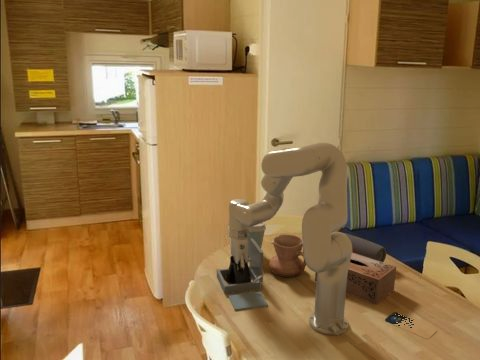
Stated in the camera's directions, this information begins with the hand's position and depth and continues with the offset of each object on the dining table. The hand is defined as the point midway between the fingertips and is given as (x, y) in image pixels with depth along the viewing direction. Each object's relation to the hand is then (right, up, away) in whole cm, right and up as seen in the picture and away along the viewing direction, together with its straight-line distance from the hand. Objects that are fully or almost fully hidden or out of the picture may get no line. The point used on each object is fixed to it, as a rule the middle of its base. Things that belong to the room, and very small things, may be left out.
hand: (238, 276), depth 174 cm
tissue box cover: (+44, -4, 0) cm, 45 cm away
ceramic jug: (+20, -1, +10) cm, 23 cm away
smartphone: (+57, -11, -26) cm, 63 cm away
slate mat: (+3, -6, -12) cm, 14 cm away
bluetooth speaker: (+51, +2, +23) cm, 56 cm away
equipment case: (0, -3, +1) cm, 3 cm away
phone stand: (0, -3, +1) cm, 3 cm away
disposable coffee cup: (+6, +4, +26) cm, 28 cm away
